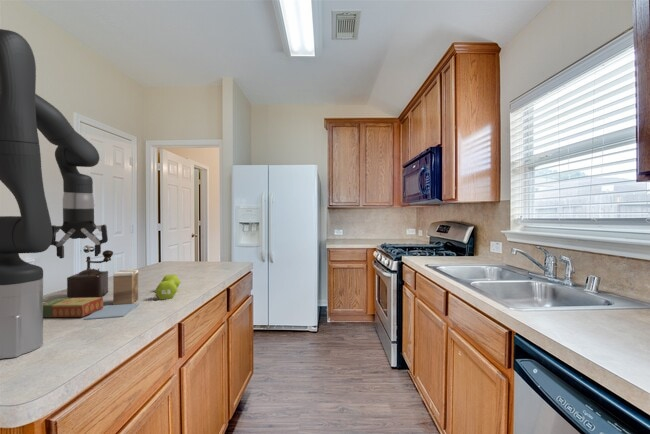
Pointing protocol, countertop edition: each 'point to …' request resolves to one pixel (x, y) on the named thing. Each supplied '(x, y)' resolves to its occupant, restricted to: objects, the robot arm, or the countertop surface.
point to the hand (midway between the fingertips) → (79, 256)
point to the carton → (72, 307)
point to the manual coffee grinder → (89, 280)
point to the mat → (112, 311)
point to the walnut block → (125, 287)
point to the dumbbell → (167, 287)
